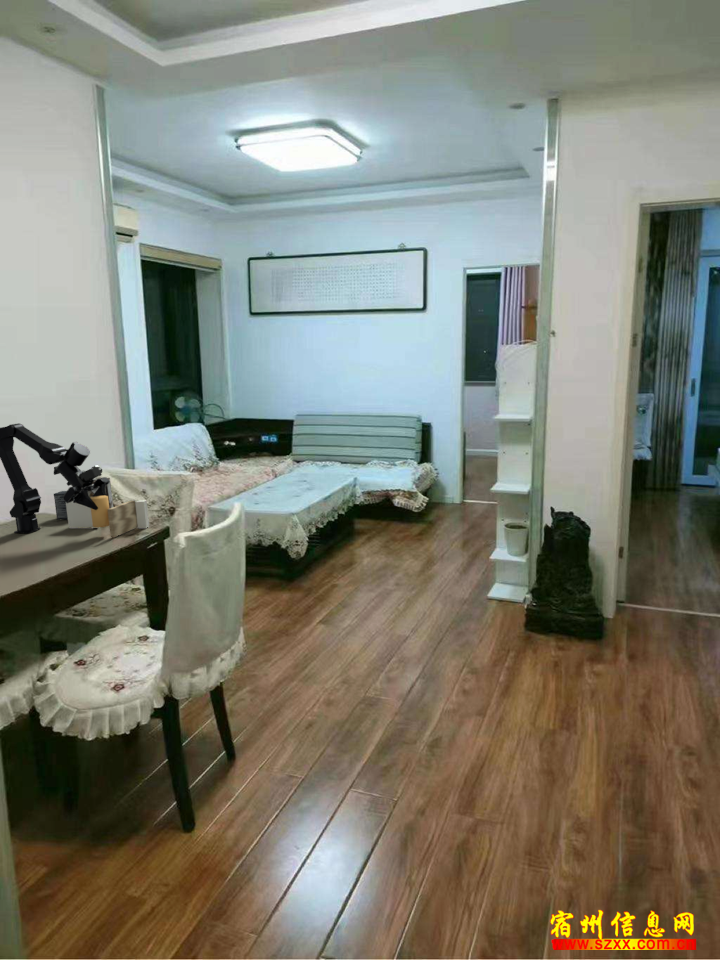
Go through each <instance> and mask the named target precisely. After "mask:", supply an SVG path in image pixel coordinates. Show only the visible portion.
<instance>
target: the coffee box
mask: <svg viewBox="0 0 720 960" xmlns="http://www.w3.org/2000/svg"><path fill="white" fill-rule="evenodd" d="M107 478H108V480H109V481H110V482H109V484H108V485H107V486H106V487H105V493H106V495H107V496H108V500H109V502H110V504H109V509H110V508H112V507H114V502H113V493H112V491H113V490H112V485H111V477H107ZM94 479H95V481H96V480H97V479H98V478H94ZM95 481H94V482H92V484H94V483H95ZM88 495H89V497H90V498H91V497H93V495H94V493H93V492H92V491H88Z"/></svg>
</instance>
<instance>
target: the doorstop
mask: <svg viewBox="0 0 720 960" xmlns="http://www.w3.org/2000/svg"><path fill="white" fill-rule="evenodd" d="M91 499H92V500H93V502H94V503H95V504H96V506H97V507H98V509H97V510H94V509H92V508H91V515H92V523H93V527H97V528H98V529H100V528H106V527H109V519H108V510H107V509H109V501H108V496H94V497H91ZM99 527H100V528H99Z"/></svg>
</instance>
